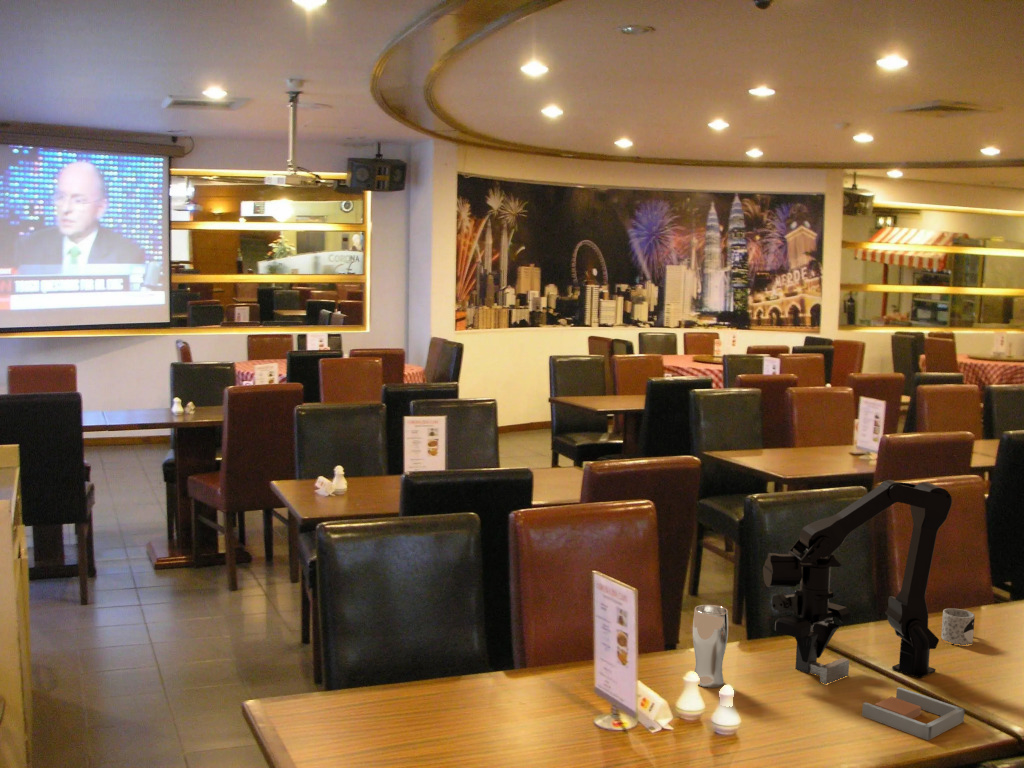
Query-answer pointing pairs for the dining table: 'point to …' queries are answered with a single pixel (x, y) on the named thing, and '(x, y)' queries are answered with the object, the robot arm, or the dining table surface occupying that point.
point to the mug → (958, 626)
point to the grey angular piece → (822, 667)
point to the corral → (926, 731)
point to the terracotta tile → (900, 707)
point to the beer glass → (710, 643)
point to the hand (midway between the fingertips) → (811, 659)
